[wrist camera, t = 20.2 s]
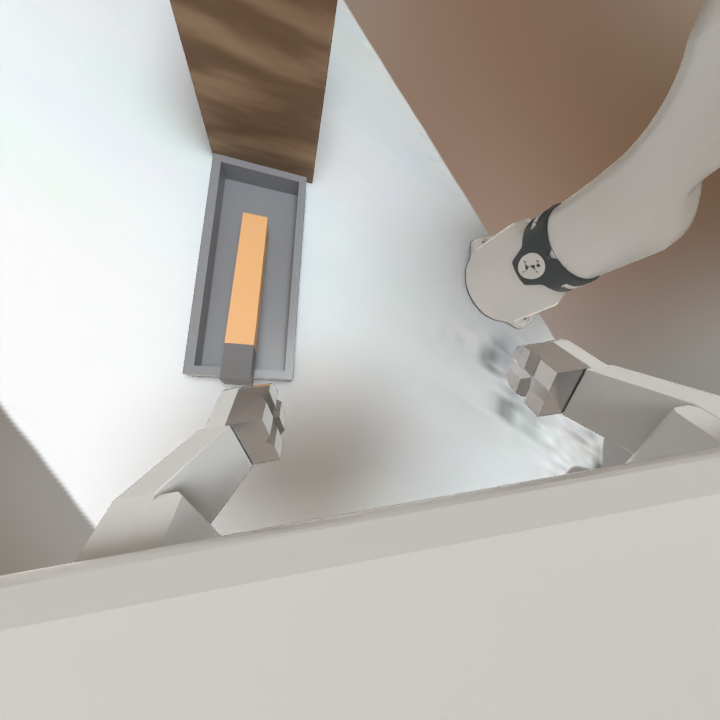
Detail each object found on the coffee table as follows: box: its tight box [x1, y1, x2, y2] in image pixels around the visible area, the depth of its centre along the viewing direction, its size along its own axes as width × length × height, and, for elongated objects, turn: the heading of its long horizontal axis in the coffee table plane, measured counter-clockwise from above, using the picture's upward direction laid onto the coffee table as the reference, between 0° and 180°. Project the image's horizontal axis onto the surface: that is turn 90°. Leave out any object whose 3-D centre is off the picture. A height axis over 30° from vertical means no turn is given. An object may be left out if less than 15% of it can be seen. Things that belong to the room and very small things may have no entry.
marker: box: [219, 212, 268, 385], centre depth 32 cm, size 22×3×3 cm, turn 178°
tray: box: [183, 153, 307, 381], centre depth 35 cm, size 29×12×4 cm, turn 178°
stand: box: [170, 0, 337, 183], centre depth 28 cm, size 16×14×26 cm
